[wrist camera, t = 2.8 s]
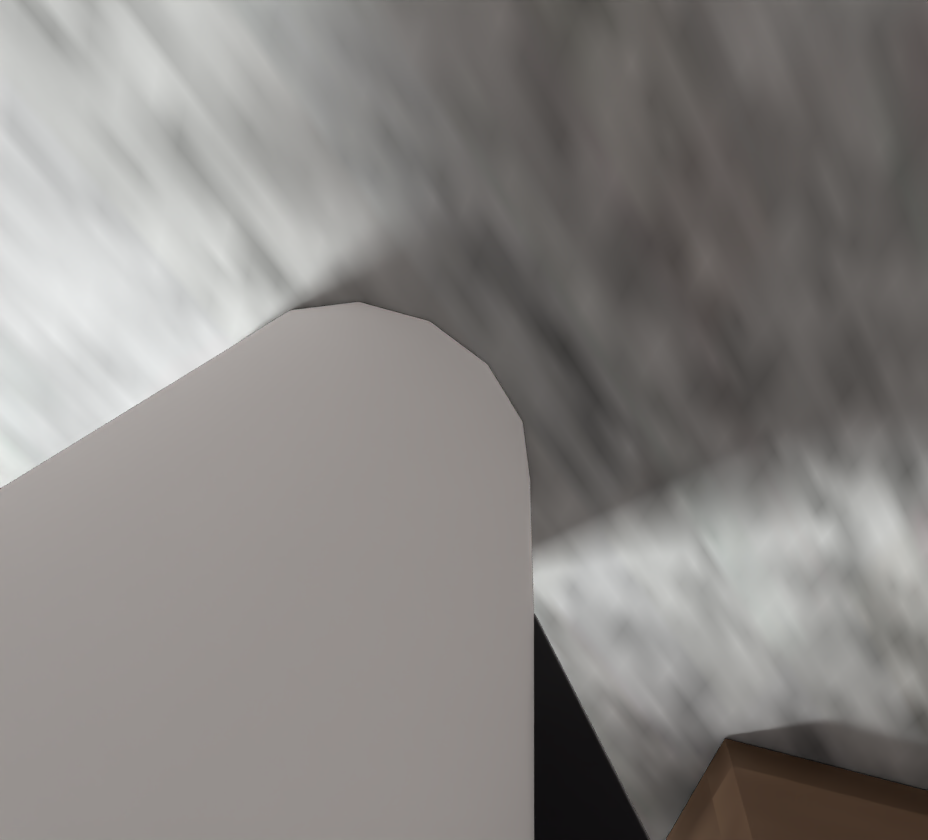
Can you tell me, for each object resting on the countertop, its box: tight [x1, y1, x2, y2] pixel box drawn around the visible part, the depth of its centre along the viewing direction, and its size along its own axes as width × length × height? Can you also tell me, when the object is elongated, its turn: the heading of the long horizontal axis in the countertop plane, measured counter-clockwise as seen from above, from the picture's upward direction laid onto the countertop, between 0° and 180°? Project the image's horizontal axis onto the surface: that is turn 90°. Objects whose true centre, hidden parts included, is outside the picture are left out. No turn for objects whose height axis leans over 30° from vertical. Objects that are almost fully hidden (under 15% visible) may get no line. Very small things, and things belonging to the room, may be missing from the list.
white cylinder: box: [0, 302, 534, 840], centre depth 7 cm, size 7×7×10 cm
